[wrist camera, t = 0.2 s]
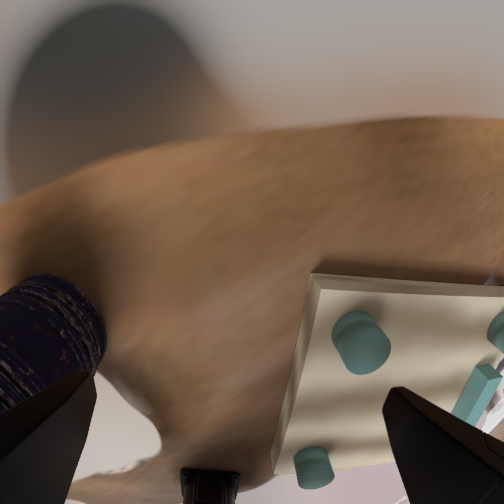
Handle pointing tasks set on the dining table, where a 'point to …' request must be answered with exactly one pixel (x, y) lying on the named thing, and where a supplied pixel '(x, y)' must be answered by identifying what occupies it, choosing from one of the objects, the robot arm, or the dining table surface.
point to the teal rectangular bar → (477, 394)
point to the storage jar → (46, 336)
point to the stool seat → (376, 365)
